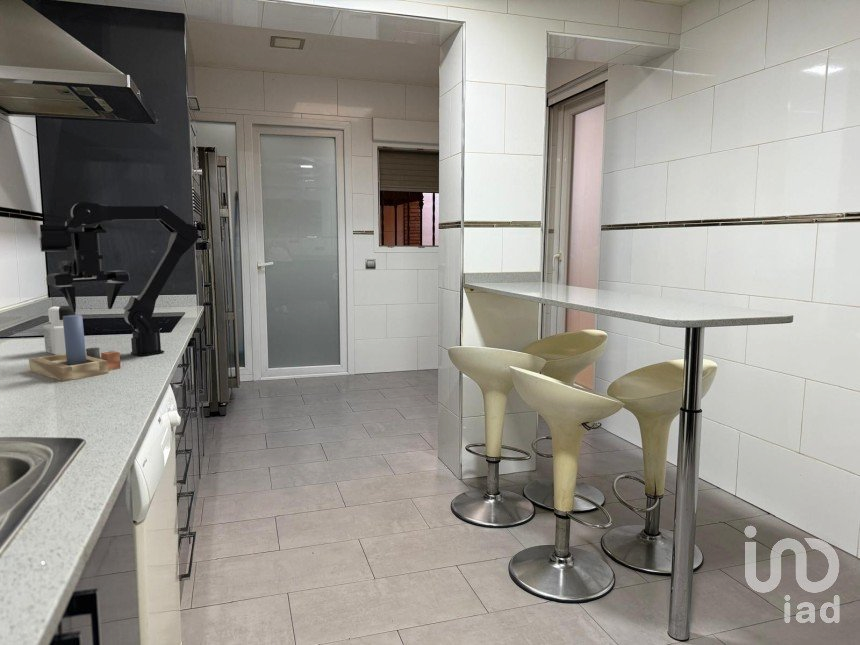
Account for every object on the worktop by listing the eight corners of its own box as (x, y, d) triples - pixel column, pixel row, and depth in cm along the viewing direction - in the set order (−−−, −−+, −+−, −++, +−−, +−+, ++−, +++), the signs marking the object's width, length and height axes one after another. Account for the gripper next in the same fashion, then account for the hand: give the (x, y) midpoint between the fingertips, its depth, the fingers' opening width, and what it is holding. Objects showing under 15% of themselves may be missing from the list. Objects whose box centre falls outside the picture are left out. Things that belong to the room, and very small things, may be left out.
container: (74, 348, 178) (70, 304, 176) (85, 351, 173) (81, 305, 171) (45, 352, 172) (40, 306, 170) (55, 355, 167) (51, 308, 165)
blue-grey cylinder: (85, 371, 147) (80, 314, 145) (89, 374, 144) (84, 316, 142) (66, 374, 144) (61, 316, 142) (69, 377, 141) (64, 317, 139)
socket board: (91, 360, 159) (90, 345, 159) (126, 369, 149) (125, 353, 148) (29, 370, 148) (28, 354, 147) (63, 381, 137) (62, 363, 137)
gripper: (108, 249, 170) (112, 305, 172) (34, 251, 155) (40, 312, 157) (128, 250, 164) (133, 308, 166) (53, 252, 149) (59, 315, 151)
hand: (92, 310), depth 160 cm, fingers open, 9 cm apart
